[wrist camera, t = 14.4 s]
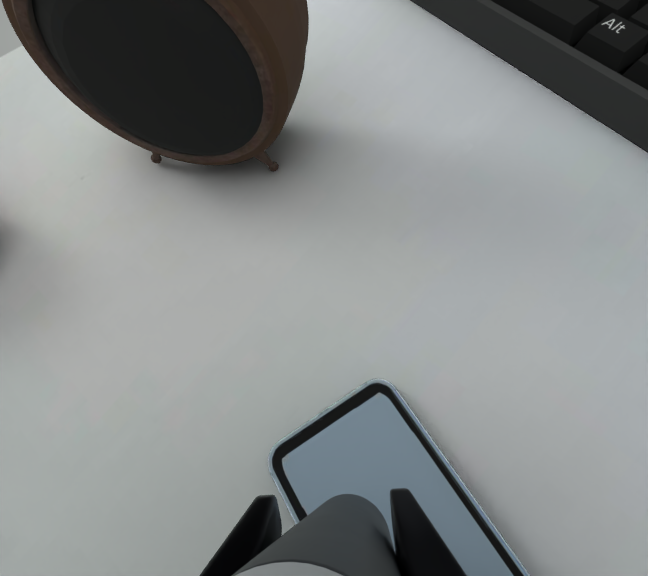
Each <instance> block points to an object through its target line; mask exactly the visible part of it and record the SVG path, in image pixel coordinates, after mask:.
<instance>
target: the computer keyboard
mask: <svg viewBox="0 0 648 576" xmlns="http://www.w3.org/2000/svg"><path fill="white" fill-rule="evenodd" d="M411 1H413V2H414V3H416V4H417V5H419V6H420V7H422V8H424V9H425V10H427V11H428V12H430V13H431V14H433V15H434V16H436V17H438V18H439V19H441V20H442V21H444V22H445V23H447V24H449V25H450V26H452V27H453V28H455V29H456V30H458V31H459V32H461V33H463V34H464V35H466V36H467V37H469V38H470V39H472V40H474V41H475V42H477V43H478V44H480V45H481V46H483V47H484V48H486V49H488V50H489V51H491V52H492V53H494V54H495V55H497V56H499V57H500V58H502V59H503V60H505V61H506V62H508V63H510V64H511V65H513V66H514V67H516V68H517V69H519V70H520V71H522V72H524V73H525V74H527V75H528V76H530V77H531V78H533V79H535V80H536V81H538V82H539V83H541V84H542V85H544V86H545V87H547V88H549V89H550V90H552V91H553V92H555V93H556V94H558V95H560V96H561V97H563V98H564V99H566V100H567V101H569V102H570V103H572V104H574V105H575V106H577V107H578V108H580V109H581V110H583V111H585V112H586V113H588V114H589V115H591V116H592V117H594V118H595V119H597V120H599V121H600V122H602V123H603V124H605V125H606V126H608V127H610V128H611V129H613V130H614V131H616V132H617V133H619V134H620V135H622V136H624V137H625V138H627V139H628V140H630V141H631V142H633V143H635V144H636V145H638V146H639V147H641V148H642V149H644V150H645V151H647V152H648V0H411Z"/></svg>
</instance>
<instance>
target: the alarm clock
mask: <svg viewBox="0 0 648 576" xmlns="http://www.w3.org/2000/svg"><path fill="white" fill-rule="evenodd" d="M2 3H3V6H4V9H5V11H6V14H7V16H8V18H9V20H10V23H11V25H12V27H13V28H14V31H15V32H16V34H17V36H18V38H19V39H20V41H21V42H22V44H23V46H24V47H25V49H26V50H27V52H28V53H29V55H30V56H31V58H32V59H33V60H34V62H35V63H36V64H37V65H38V67H39V68H40V69H41V70H42V72H43V73H44V74H45V75H46V76H47V77H48V78H49V80H50V81H51V82H52V83H53V84H54V85H55V86H56V87H57V88H58V89H59V90H60V91H61V92H62V93H63V94H64V95H65V96H66V97H67V98H68V99H70V100H71V101H72V102H73V103H74V104H75V105H76V106H78V107H79V108H80V109H81V110H82V111H84V112H85V113H86V114H88V115H89V116H90V117H91V118H93V119H94V120H96V121H97V122H98V123H100V124H101V125H103V126H104V127H106V128H107V129H109V130H111V131H112V132H114V133H115V134H117V135H119V136H121V137H122V138H124V139H126V140H128V141H130V142H132V143H134V144H136V145H138V146H140V147H142V148H144V149H146V150H149V151H151V152H152V154H153V155H152V156H151V160H152V162H154V163H160V162H161V160H162V159H161V156H160V155H162V156H165V157H168V158H172V159H175V160H179V161H184V162H188V163H194V164H203V165H226V164H234V163H238V162H242V161H245V160H248V159H251V158H253V157H255V158H256V159H258V160H259V161H261V162H263V163H264V164H266V165H268V167H269V169H270V171H273V172H274V171H276V170H277V169H278V164H277V163H276V162H273V161H272V160H271V159H270V157H269V156H268V155H267V154H266V152H265V151H264V150H266V149H267V148H268V147H269V146H270V145H271V144H272V143H273V142H274V141H275V140H276V138H277V137H278V135H279V134H280V132H281V130H282V128H283V126H284V124H285V121H286V119H287V117H288V115H289V112H290V110H291V107H292V105H293V103H294V100H295V98H296V95H297V92H298V89H299V86H300V82H301V79H302V74H303V70H304V62H305V52H306V45H307V39H308V7H307V1H306V0H2Z"/></svg>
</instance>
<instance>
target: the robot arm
mask: <svg viewBox="0 0 648 576" xmlns="http://www.w3.org/2000/svg"><path fill="white" fill-rule="evenodd" d="M390 505H391V518H392V528H393V536H394V545H395V553H396V558H397V562H398V566H399V569H400V572H401V575H402V576H467V575H466V573H465V572H464V570H463V569H462V567H461V566H460V564H459V563H458V561H457V560H456V558H455V557H454V556H453V554H452V553H451V551H450V550H449V548H448V547H447V545H446V544H445V542H444V541H443V539H442V538H441V536H440V535H439V533H438V532H437V530H436V529H435V527H434V526H433V524H432V523H431V521H430V520H429V518H428V517H427V515H426V514H425V512H424V511H423V509H422V508H421V506H420V505H419V503H418V502H417V500H416V499H415V497H414V496H413V494H412V493H411V491H410V490H409V489H407V488H395V489H391V490H390ZM281 533H282V524H281V518H280V513H279V508H278V503H277V499H276V497H275V496H274V495H260V496H258V497H256V498H255V499H254V501H253V502H252V504H251V505H250V506H249V508H248V509H247V511H246V512H245V513H244V515H243V516H242V517H241V519H240V520H239V522H238V523H237V524H236V526H235V527H234V529H233V530H232V531H231V533H230V534H229V535H228V537H227V538H226V540H225V541H224V542H223V544H222V545H221V547H220V548H219V549H218V551H217V552H216V553H215V555H214V556H213V558H212V559H211V560H210V562H209V563H208V565H207V566H206V567H205V569H204V570H203V571H202V573H201V574H200V576H232V575H233V574H234V573H235V572H237V571H238V570H239V569H241V568H242V567H243V566H244V565H246V564H247V563H248V562H249V561H251V560H252V559H253V558H255V557H256V556H257V555H258V554H260V553H261V552H262V551H263V550H265V549H266V548H267V547H268V546H270V545H271V544H272V543H274V542H275V541H276V540H277V539H279V538H280V537H281Z"/></svg>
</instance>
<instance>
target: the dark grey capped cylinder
mask: <svg viewBox="0 0 648 576" xmlns="http://www.w3.org/2000/svg"><path fill="white" fill-rule="evenodd" d="M232 576H402V575H401V572H400V569H399V566H398V562H397V558H396V553H395V550H394V546H393V543H392V539H391V535H390V532H389V528H388V525H387V522H386V520H385V518H384V516H383V515H382V513H381V512H380V511H379V509H378V508H377V507H376V506H375V505H374V504H373V503H372V502H370V501H369V500H367V499H365V498H364V497H361V496H359V495H355V494H341V495H337V496H334V497H332V498H330V499H328V500H327V501H326V502H324V503H323V504H322V505H320V506H319V507H318V508H317V509H315V510H314V511H313V512H312V513H310V514H309V515H308V516H307V517H305V518H304V519H303V520H301V521H300V522H299V523H298V524H296V525H295V526H294V527H293V528H291V529H290V530H289V531H287V532H286V533H285V534H284V535H282V536H281V537H280V538H279V539H277V540H276V541H275V542H274V543H272V544H271V545H270V546H268V547H267V548H266V549H265V550H263V551H262V552H261V553H260V554H258V555H257V556H256V557H255V558H253V559H252V560H251V561H249V562H248V563H247V564H246V565H244V566H243V567H242V568H241V569H239V570H238V571H237V572H235V573H234V574H233V575H232Z"/></svg>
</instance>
